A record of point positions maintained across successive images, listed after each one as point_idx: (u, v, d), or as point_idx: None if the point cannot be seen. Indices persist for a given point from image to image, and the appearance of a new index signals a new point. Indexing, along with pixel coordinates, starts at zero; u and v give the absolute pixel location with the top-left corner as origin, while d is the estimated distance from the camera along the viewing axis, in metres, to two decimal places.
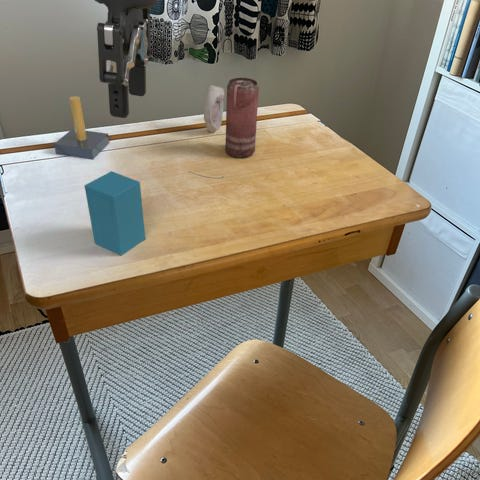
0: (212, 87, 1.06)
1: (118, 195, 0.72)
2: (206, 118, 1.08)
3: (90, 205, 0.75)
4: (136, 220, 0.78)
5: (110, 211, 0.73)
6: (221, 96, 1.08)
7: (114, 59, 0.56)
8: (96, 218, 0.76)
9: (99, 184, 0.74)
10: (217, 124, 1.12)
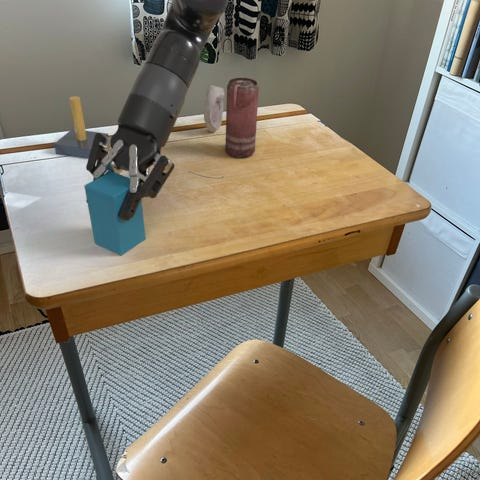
0: (212, 87, 1.06)
1: (118, 195, 0.72)
2: (206, 118, 1.08)
3: (90, 205, 0.75)
4: (136, 220, 0.78)
5: (110, 211, 0.73)
6: (221, 96, 1.08)
7: (161, 182, 0.74)
8: (96, 218, 0.76)
9: (99, 184, 0.74)
10: (217, 124, 1.12)
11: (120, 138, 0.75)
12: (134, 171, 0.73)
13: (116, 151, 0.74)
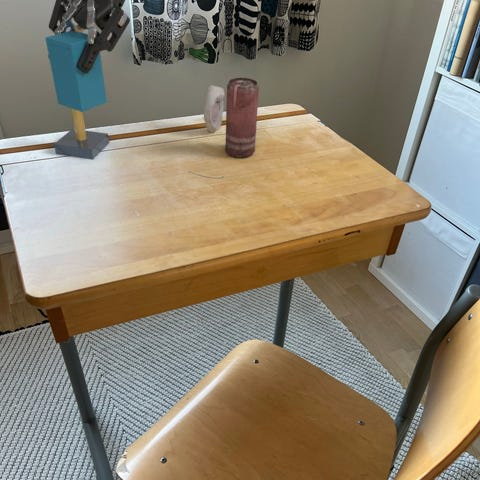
0: (212, 87, 1.06)
1: (76, 44, 0.77)
2: (206, 118, 1.08)
3: (51, 59, 0.80)
4: (96, 78, 0.83)
5: (69, 61, 0.78)
6: (221, 96, 1.08)
7: (117, 35, 0.78)
8: (58, 73, 0.81)
9: (59, 37, 0.79)
10: (217, 124, 1.12)
11: None
12: (91, 23, 0.78)
13: (75, 7, 0.79)
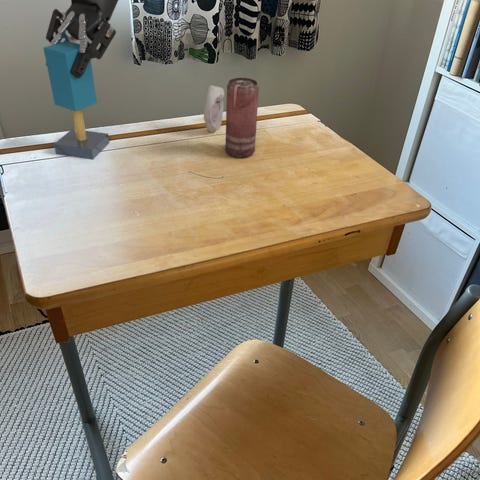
0: (212, 87, 1.06)
1: (70, 53, 0.90)
2: (206, 118, 1.08)
3: (49, 66, 0.93)
4: (87, 82, 0.95)
5: (64, 68, 0.91)
6: (221, 96, 1.08)
7: (105, 45, 0.91)
8: (54, 78, 0.94)
9: (55, 47, 0.91)
10: (217, 124, 1.12)
11: None
12: (83, 35, 0.90)
13: (69, 21, 0.92)
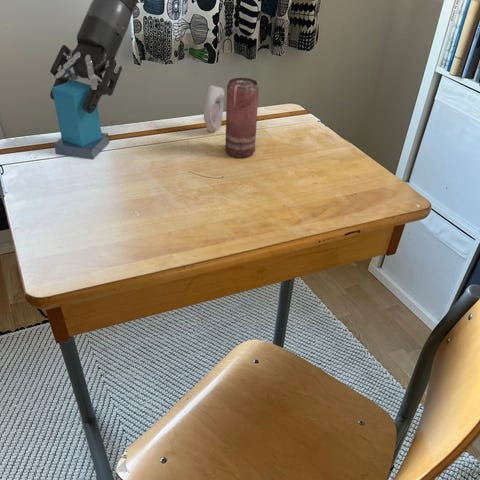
0: (212, 87, 1.06)
1: (77, 94, 0.95)
2: (206, 118, 1.08)
3: (56, 105, 0.98)
4: (93, 119, 1.00)
5: (71, 107, 0.96)
6: (221, 96, 1.08)
7: (114, 81, 0.95)
8: (61, 116, 0.99)
9: (63, 87, 0.96)
10: (217, 124, 1.12)
11: None
12: (88, 75, 0.95)
13: (75, 61, 0.96)
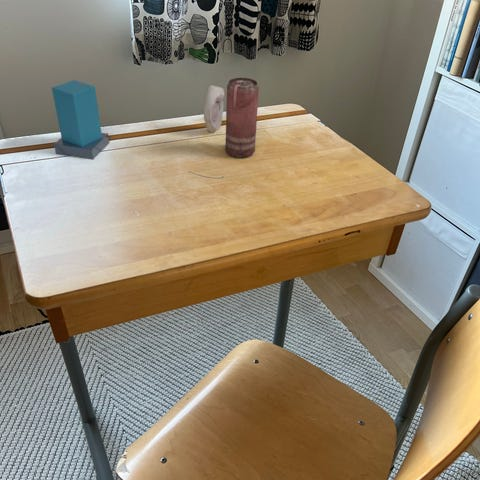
0: (212, 87, 1.06)
1: (77, 94, 0.95)
2: (206, 118, 1.08)
3: (56, 105, 0.98)
4: (93, 119, 1.00)
5: (71, 107, 0.96)
6: (221, 96, 1.08)
7: None
8: (61, 116, 0.99)
9: (63, 87, 0.96)
10: (217, 124, 1.12)
11: None
12: None
13: None
